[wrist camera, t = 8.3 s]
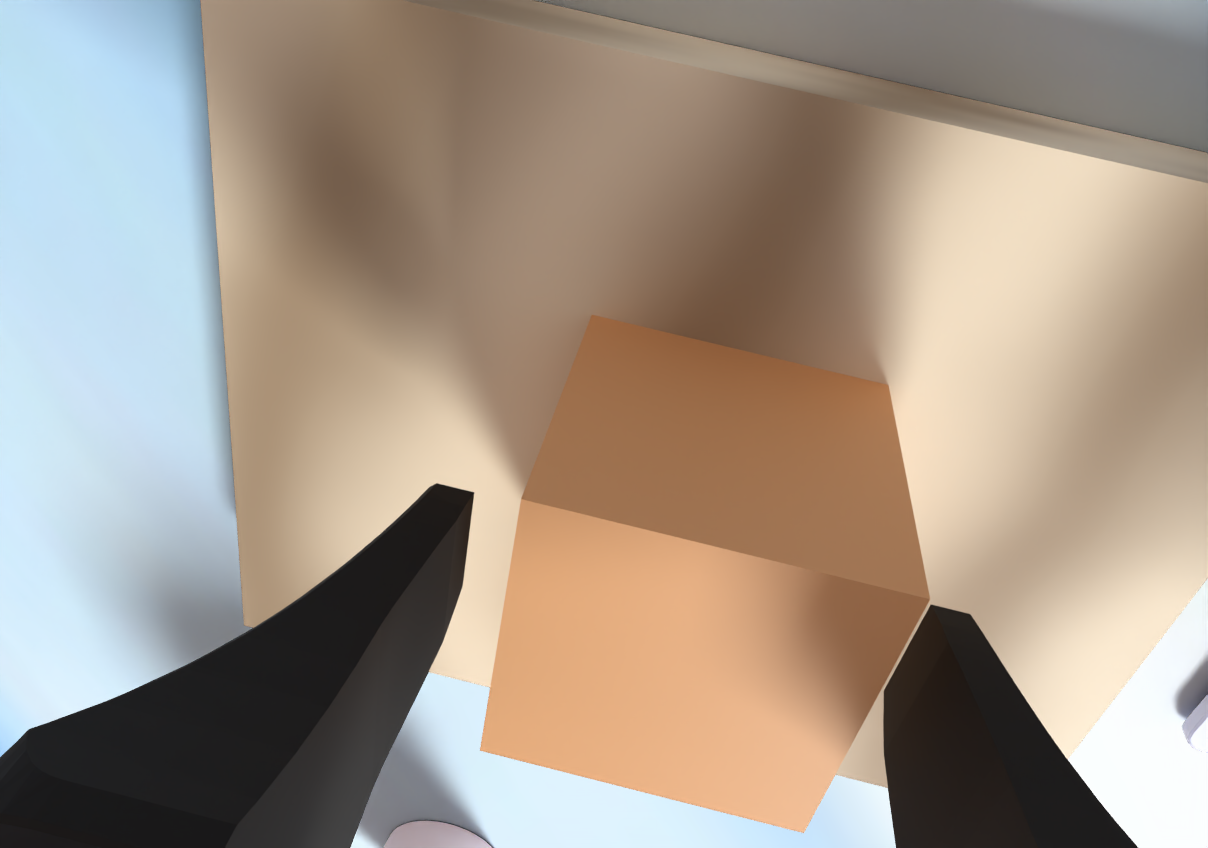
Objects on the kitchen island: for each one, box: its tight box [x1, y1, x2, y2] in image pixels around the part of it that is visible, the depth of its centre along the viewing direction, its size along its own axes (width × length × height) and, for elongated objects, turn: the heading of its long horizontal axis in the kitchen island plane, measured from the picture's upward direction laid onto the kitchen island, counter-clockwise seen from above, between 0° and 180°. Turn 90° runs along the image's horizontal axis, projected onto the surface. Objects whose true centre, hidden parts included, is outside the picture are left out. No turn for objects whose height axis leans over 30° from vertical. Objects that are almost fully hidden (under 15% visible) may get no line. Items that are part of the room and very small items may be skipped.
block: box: [480, 315, 930, 833], centre depth 14 cm, size 5×5×5 cm
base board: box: [200, 0, 1208, 788], centre depth 17 cm, size 18×14×2 cm
